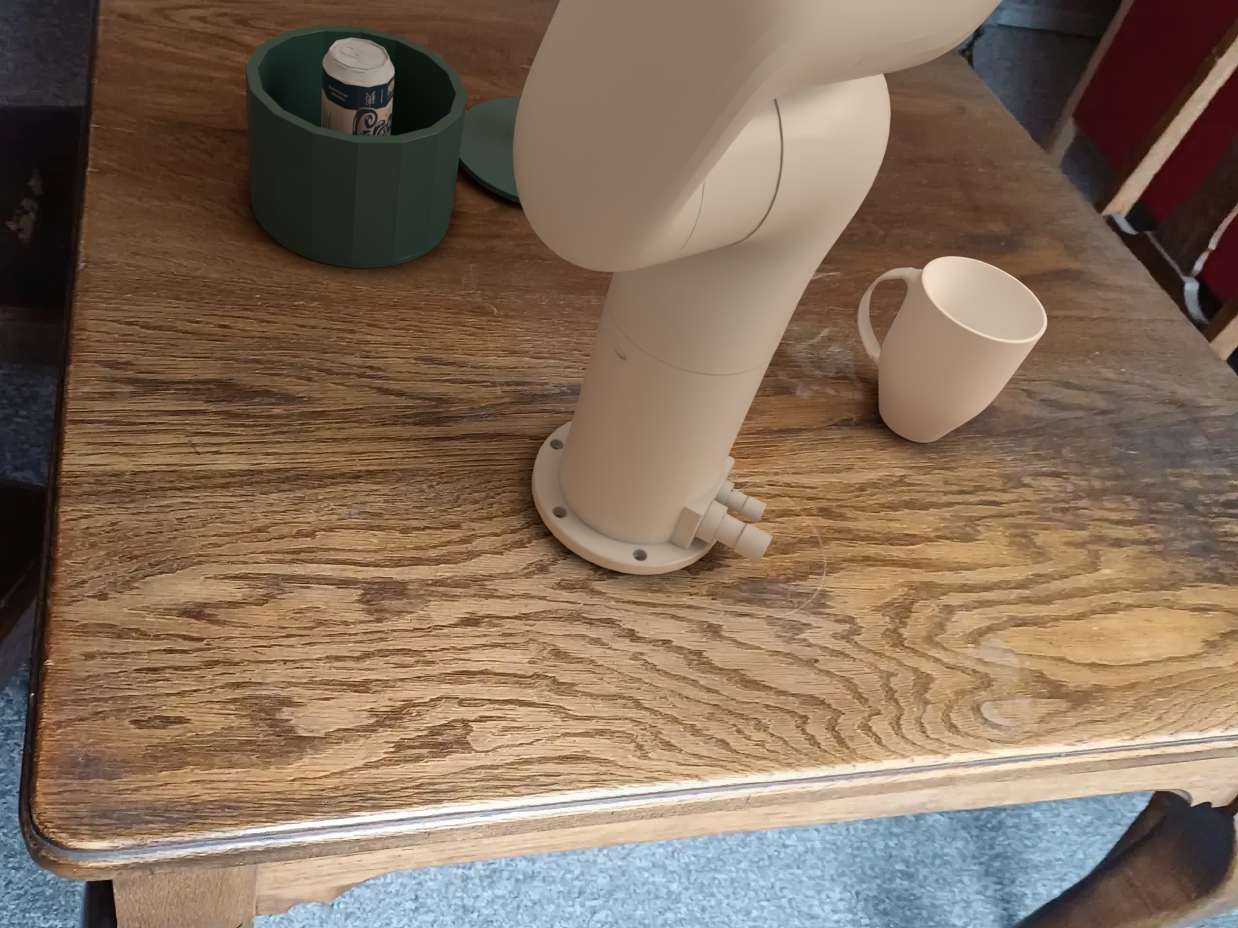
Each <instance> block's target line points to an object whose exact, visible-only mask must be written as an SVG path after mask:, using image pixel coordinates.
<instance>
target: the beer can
mask: <svg viewBox="0 0 1238 928" xmlns="http://www.w3.org/2000/svg"><path fill="white" fill-rule="evenodd" d="M394 76H395V71H394V67H393V65H392V63H391V61H390V58H389V56H388V54H387V52H386V50H385V48H384V47H382V46H380V45H378V44H376V43H374V42H372V41H370V40H364V39H358V38H347V39H342V40H337V41H335V42H334V44H333V45H332V46H331V47H330V48H329V51H328V53H327V54H326V55H325V57H324V58H323V62H322V110H321V128H326V129H330V130H335V131H339V132H343V133H348V134H352V135H381V136H390V130H391V117H392V103H393V90H394Z"/></svg>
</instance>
